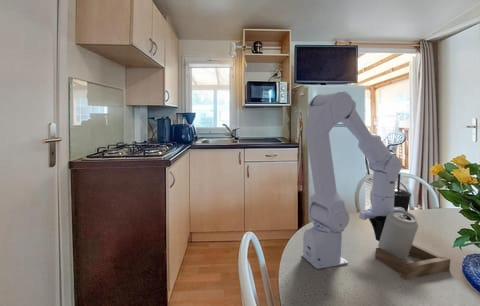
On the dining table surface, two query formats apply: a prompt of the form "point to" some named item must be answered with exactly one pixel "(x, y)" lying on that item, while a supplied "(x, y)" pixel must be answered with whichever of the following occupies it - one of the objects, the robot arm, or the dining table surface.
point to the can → (398, 233)
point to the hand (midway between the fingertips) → (380, 240)
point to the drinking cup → (401, 197)
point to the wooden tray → (415, 263)
